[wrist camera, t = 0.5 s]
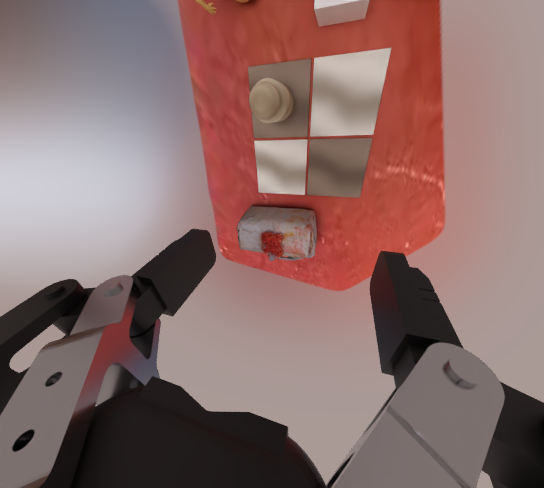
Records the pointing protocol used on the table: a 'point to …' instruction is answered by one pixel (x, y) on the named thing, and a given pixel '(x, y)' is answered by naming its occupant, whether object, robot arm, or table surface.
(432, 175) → the table surface
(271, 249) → the food item
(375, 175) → the table surface
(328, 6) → the die
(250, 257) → the table surface
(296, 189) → the game mat
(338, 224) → the table surface
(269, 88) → the pawn
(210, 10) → the figurine
